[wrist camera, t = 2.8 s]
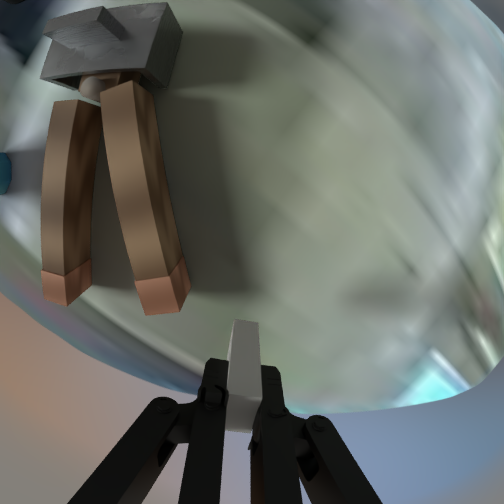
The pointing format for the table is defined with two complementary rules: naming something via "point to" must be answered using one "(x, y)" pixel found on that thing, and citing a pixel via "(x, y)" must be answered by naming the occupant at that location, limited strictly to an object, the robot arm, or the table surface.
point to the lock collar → (112, 43)
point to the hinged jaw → (143, 198)
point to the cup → (4, 173)
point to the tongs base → (72, 188)
